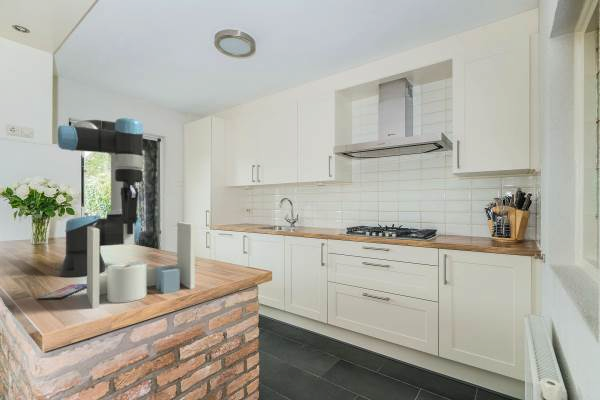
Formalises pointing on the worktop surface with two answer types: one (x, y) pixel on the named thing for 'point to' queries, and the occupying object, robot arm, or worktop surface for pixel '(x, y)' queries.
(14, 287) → the worktop surface
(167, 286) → the paddle block
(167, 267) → the paddle block
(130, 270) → the toilet tissue
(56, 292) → the smartphone
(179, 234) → the panel frame
